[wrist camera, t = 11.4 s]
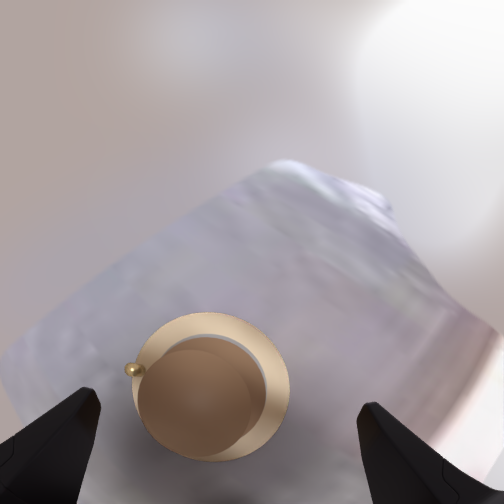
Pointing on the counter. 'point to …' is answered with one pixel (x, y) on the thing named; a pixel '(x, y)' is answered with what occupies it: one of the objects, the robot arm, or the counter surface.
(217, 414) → the brown flanged knob
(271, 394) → the plate
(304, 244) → the counter surface
